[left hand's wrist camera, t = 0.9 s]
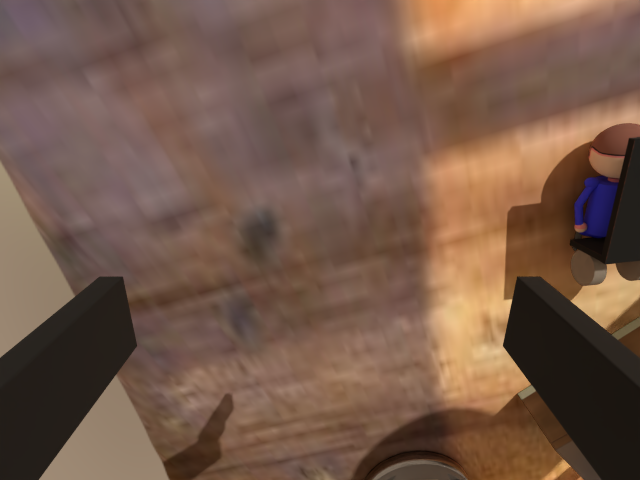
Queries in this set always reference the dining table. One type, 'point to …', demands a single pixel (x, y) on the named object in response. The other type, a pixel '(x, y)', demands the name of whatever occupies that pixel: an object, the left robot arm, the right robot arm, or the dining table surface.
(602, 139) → the figurine character
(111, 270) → the dining table surface
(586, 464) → the wooden chest box
